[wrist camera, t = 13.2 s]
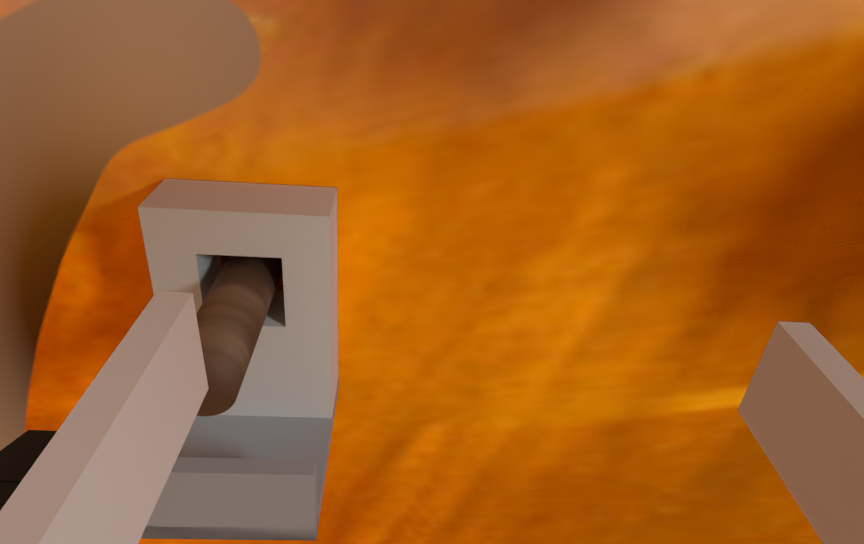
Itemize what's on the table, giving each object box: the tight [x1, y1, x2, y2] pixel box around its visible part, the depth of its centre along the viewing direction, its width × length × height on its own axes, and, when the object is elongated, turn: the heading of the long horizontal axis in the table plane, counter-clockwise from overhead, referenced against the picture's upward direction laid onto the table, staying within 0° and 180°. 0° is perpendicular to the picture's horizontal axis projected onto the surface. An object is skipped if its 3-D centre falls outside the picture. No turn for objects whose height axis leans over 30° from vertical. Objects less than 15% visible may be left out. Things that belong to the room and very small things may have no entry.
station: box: [137, 178, 338, 540], centre depth 40 cm, size 19×12×15 cm, turn 176°
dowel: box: [196, 256, 282, 416], centre depth 38 cm, size 4×4×15 cm
